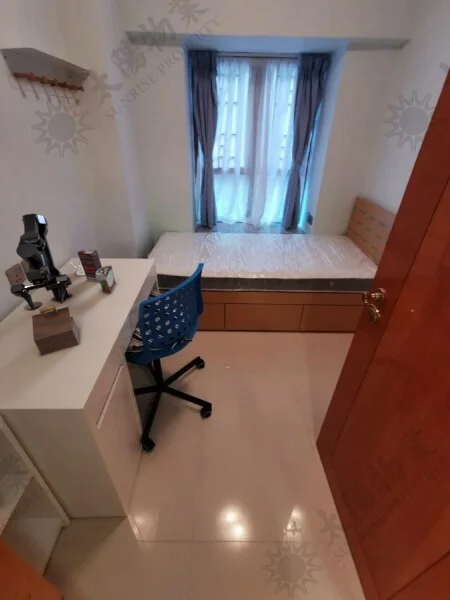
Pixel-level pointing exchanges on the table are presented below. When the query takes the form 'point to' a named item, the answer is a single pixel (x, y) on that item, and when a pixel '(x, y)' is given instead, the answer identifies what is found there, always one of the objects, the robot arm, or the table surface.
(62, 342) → the caddy
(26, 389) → the table surface
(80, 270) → the shell
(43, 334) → the brown wooden lid
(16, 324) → the table surface
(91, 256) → the supplement box
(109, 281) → the food container
